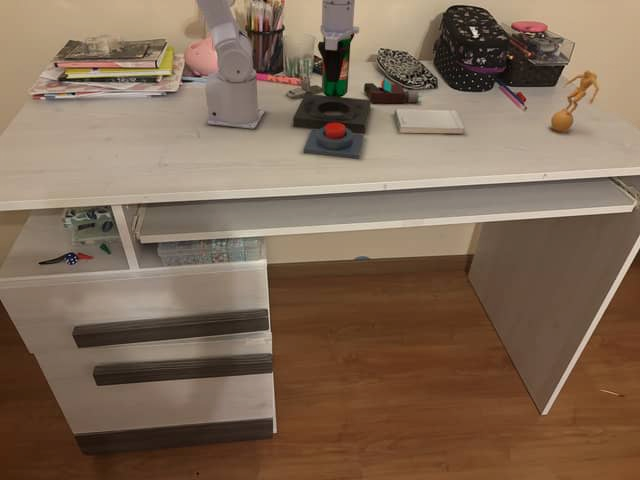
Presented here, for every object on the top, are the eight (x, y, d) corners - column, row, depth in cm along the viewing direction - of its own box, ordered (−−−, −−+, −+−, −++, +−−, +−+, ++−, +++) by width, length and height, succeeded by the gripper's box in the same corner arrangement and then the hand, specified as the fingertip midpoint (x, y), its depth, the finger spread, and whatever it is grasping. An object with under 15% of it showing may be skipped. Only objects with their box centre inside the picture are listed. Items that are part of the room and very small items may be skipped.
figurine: (538, 122, 105) (556, 63, 98) (563, 119, 106) (583, 61, 99) (563, 140, 99) (584, 79, 91) (589, 137, 100) (613, 77, 93)
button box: (303, 153, 92) (303, 140, 90) (311, 133, 98) (311, 121, 97) (358, 159, 91) (360, 146, 89) (363, 138, 97) (364, 126, 95)
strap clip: (293, 100, 110) (293, 80, 108) (285, 95, 112) (284, 76, 110) (323, 91, 115) (324, 72, 112) (315, 86, 117) (316, 68, 114)
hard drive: (400, 126, 98) (464, 126, 99) (395, 108, 105) (455, 109, 105) (399, 133, 99) (463, 134, 100) (394, 115, 106) (453, 116, 106)
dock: (293, 127, 100) (293, 117, 99) (305, 102, 110) (305, 93, 108) (364, 134, 98) (365, 124, 97) (370, 108, 108) (371, 99, 107)
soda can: (329, 100, 98) (332, 35, 91) (317, 90, 102) (318, 27, 94) (352, 96, 100) (356, 32, 93) (339, 87, 103) (342, 25, 96)
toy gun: (422, 104, 110) (426, 83, 107) (367, 105, 109) (369, 82, 106) (413, 87, 118) (416, 66, 115) (361, 87, 117) (363, 66, 114)
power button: (323, 139, 92) (323, 130, 91) (326, 130, 95) (327, 121, 94) (343, 141, 92) (343, 132, 90) (345, 132, 94) (346, 123, 93)
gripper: (356, 13, 84) (351, 92, 93) (365, -8, 95) (359, 65, 104) (314, 10, 85) (312, 89, 93) (327, -10, 96) (325, 62, 105)
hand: (334, 76), depth 99 cm, fingers closed on soda can, 5 cm apart
